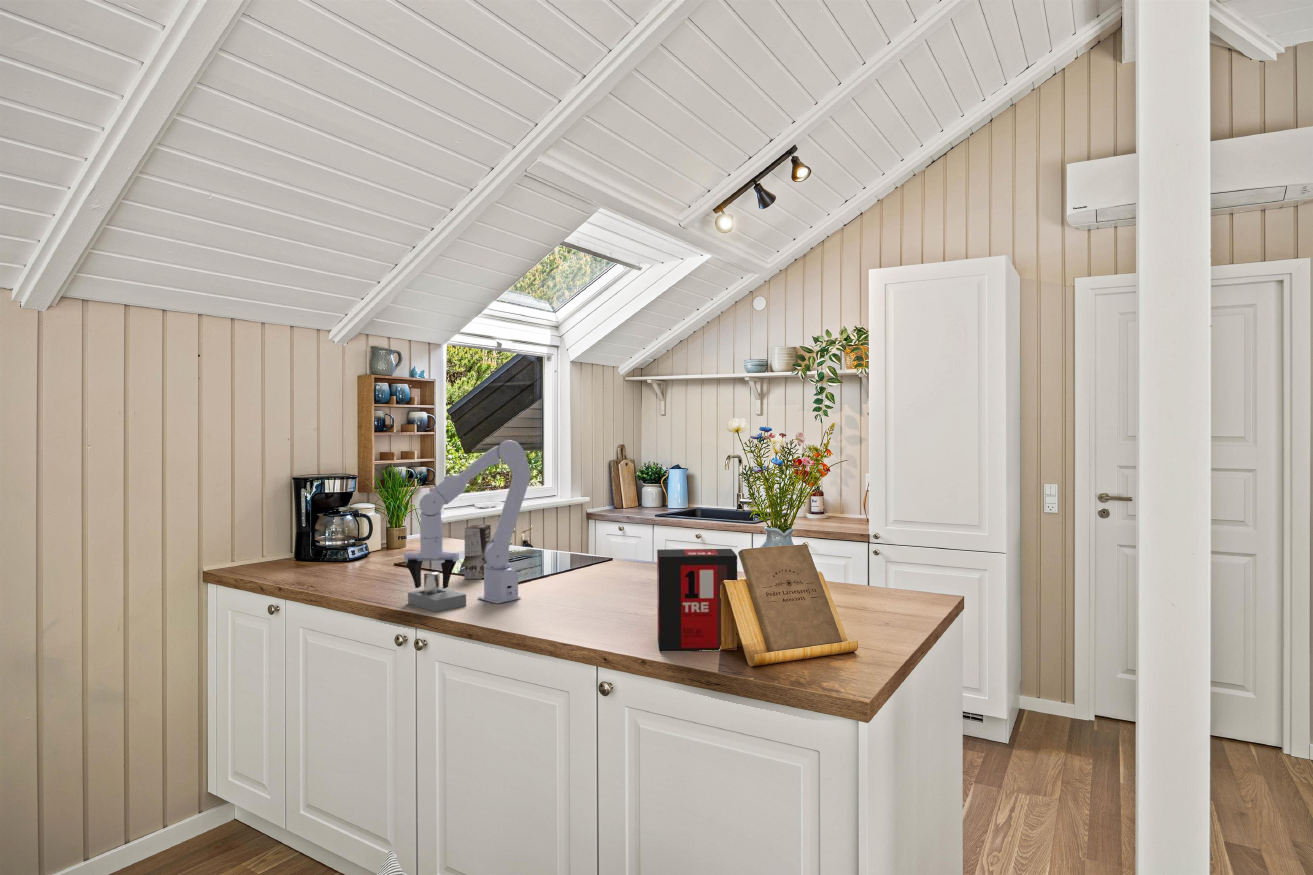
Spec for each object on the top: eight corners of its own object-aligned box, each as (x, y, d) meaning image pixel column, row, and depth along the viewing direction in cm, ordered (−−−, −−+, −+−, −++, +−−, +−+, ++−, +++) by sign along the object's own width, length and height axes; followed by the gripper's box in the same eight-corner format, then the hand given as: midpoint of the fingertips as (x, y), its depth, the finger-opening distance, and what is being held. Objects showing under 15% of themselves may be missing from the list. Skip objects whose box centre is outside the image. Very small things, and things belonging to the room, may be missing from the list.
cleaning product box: (659, 651, 147) (658, 556, 146) (657, 639, 155) (657, 549, 155) (737, 650, 147) (737, 555, 147) (731, 638, 156) (731, 548, 156)
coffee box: (484, 579, 220) (483, 527, 220) (464, 579, 220) (463, 528, 220) (491, 573, 229) (491, 524, 229) (472, 573, 229) (471, 524, 229)
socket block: (466, 605, 187) (466, 594, 187) (435, 612, 180) (435, 600, 180) (437, 597, 196) (437, 586, 196) (408, 603, 189) (407, 592, 189)
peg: (442, 602, 190) (442, 573, 190) (429, 605, 187) (429, 575, 187) (434, 600, 193) (434, 571, 193) (421, 603, 190) (421, 573, 190)
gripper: (462, 535, 193) (463, 584, 193) (411, 535, 194) (411, 583, 194) (453, 539, 186) (454, 590, 186) (400, 538, 187) (400, 589, 187)
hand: (431, 587), depth 190 cm, fingers open, 7 cm apart
